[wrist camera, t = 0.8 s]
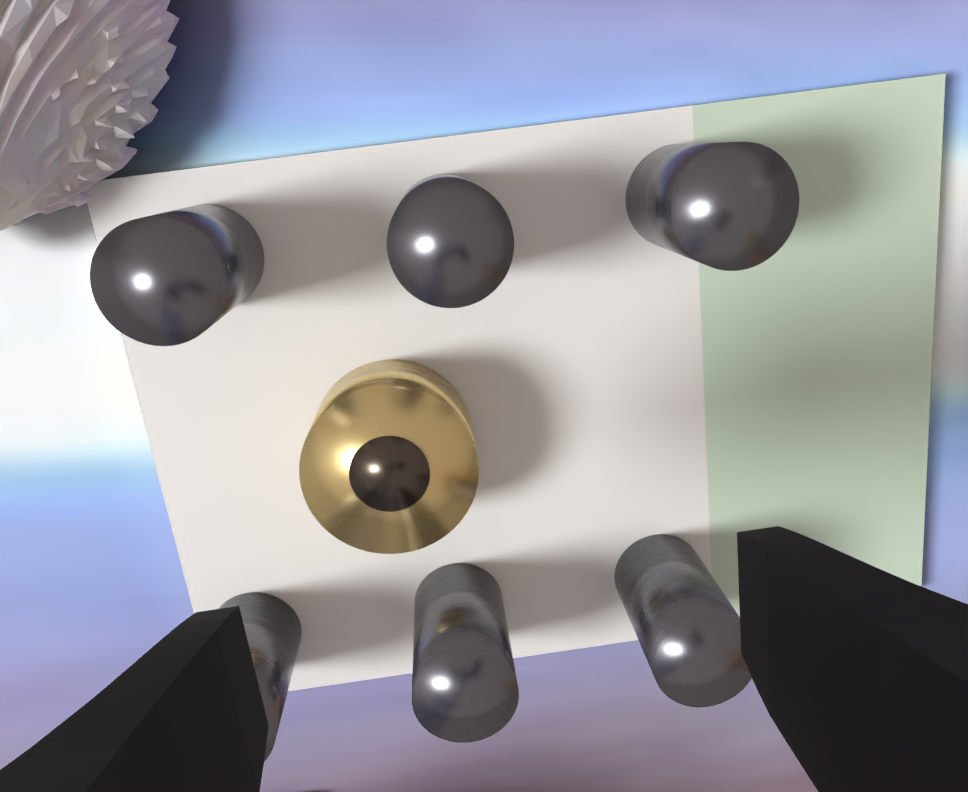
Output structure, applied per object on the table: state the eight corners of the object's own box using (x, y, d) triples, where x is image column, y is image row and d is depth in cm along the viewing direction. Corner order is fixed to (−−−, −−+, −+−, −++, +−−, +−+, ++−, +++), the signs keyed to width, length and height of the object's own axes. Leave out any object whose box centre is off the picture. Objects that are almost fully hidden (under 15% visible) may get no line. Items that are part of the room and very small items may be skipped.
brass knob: (481, 496, 21) (488, 542, 19) (329, 518, 21) (316, 566, 18) (462, 348, 20) (467, 377, 17) (300, 371, 20) (282, 402, 17)
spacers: (737, 600, 22) (801, 692, 19) (221, 675, 22) (178, 785, 18) (723, 137, 19) (799, 134, 15) (104, 216, 18) (19, 233, 14)
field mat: (908, 587, 23) (921, 598, 23) (222, 687, 23) (217, 701, 22) (930, 75, 19) (945, 73, 19) (91, 181, 19) (81, 182, 18)
